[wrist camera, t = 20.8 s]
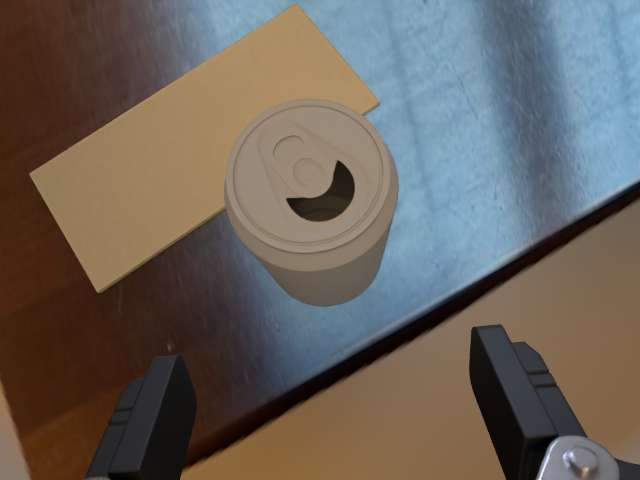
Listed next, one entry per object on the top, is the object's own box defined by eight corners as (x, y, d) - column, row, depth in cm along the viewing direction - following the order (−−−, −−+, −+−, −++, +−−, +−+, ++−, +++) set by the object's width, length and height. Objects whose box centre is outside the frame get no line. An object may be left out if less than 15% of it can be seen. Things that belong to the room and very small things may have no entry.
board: (100, 293, 28) (96, 292, 28) (32, 176, 31) (28, 173, 30) (380, 105, 30) (380, 101, 30) (297, 6, 33) (296, 2, 32)
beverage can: (315, 331, 27) (288, 304, 16) (248, 243, 29) (178, 157, 17) (404, 261, 28) (443, 184, 16) (334, 178, 29) (324, 54, 18)
